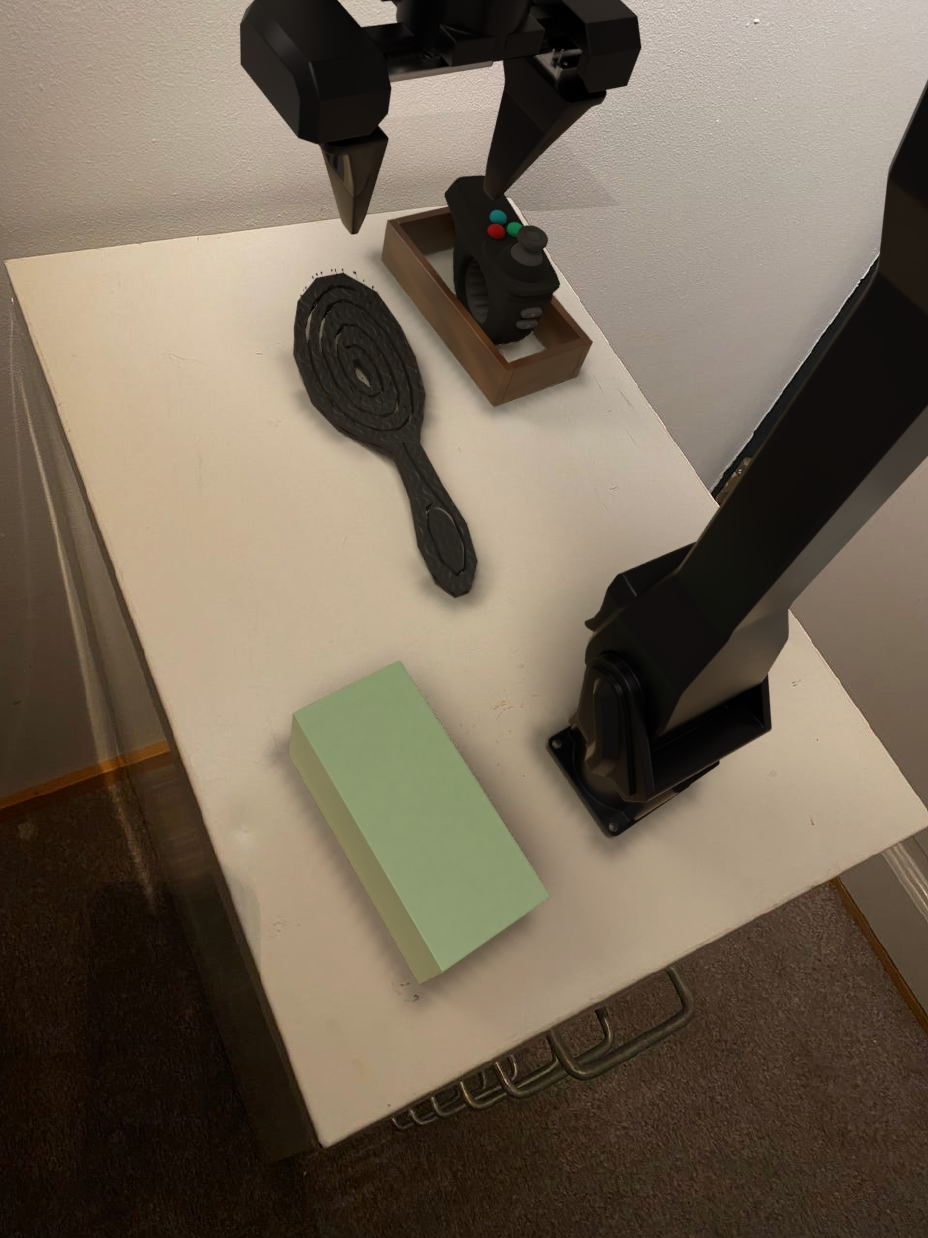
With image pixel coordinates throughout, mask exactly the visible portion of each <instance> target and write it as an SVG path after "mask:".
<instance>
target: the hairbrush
mask: <svg viewBox="0 0 928 1238" xmlns="http://www.w3.org/2000/svg"><path fill="white" fill-rule="evenodd" d="M333 271H334V272H335V273H334V274H333ZM330 272H331V273H332V274H328V275H324V276H323V271H320V274H321V275H322V276H318V275H319V273H318V272H316V273H315V275H316V277H315V278H314V275H311V279H313V281H312V282H311V283H310V285H309V286H308V287H307V286H304V289H302V292H303V294H300V295H299V299H298V300H297V302H296V303H297V304H296V308H295V309H296V310H295V315H294V321H293V322H294V323H293V351H292V353H293V354H292V355H293V358H294V361H295V363H296V366H297V369H298V372H299V375H300V377H301V379H302V382H303V385H304V388H305V390H306V392H307V395H308V397H309V400H310V403H311V405H312V406H314V408H315V409H316V410H317V411H318V412H319V413H320V414H321V415H322V416H323V417H324V418H325V419H326V420H327V421H328V422H329V423H330V424H331V425H332V426H333V427H334V428H335V429H336V430H337V431H339V432H341V433H343V434H345V435H347V436H349V437H350V438H352V439H355V440H356V441H358V442H360V443H362V444H364V445H367V446H368V447H370V448H371V449H375V450H376V451H378V452H381V453H383V454H384V455H387V456H388V457H390V458H392V459H393V461H394V463H395V466H396V468H397V472H398V473H399V476H400V479H401V481H402V484H403V487H404V489H405V492H406V495H407V497H408V500H409V505H410V510H411V511H410V512H411V516H412V522H413V528H414V534H415V540H416V544H417V549H418V550H419V552H420V554H421V557H422V559H423V561H424V563H425V565H426V567H427V569H428V571H429V573H430V575H431V577H432V579H433V581H434V583H435V584H436V585H437V586H439V587H440V588H441V589H442V590H443V591H444V592H446V593H447V594H449V595H450V596H452V597H453V598H454V599H455V598H458V597H461V596H464V595H466V594H469V592H470V590H472V588H473V583H474V581H475V577H476V576H475V574H476V570H477V566H478V557H477V554H476V550H475V547H474V543H473V540H472V535H471V533H470V529H469V525H468V522H467V521H466V519H465V517H464V515H462V513H461V511H460V510H459V508H458V507H457V505H456V504H455V502H454V500H453V498H452V497H451V495H450V494H449V493H448V491H447V490H446V489H447V488H446V487H445V485H444V484H443V483H442V480H441V479H440V477H439V475H438V473H437V471H436V469H435V467H434V466H433V463H432V461H431V460H430V458H429V456H428V454H427V453H426V451H425V449H424V447H423V445H422V443H421V441H422V440H421V439H422V438H421V437H422V436H421V435H422V425H423V422H424V411H425V402H426V395H427V393H426V391H425V387H424V382H423V379H422V376H421V371H420V368H419V364H418V360H417V356H416V355H415V352H414V350H413V348H412V346H411V344H410V342H409V339H408V338H407V336H406V334H405V332H404V330H403V328H402V326H401V324H400V323H399V321H398V320H397V318H396V317H395V315H394V314H393V312H392V311H391V310H390V308H389V306H388V305H387V304H386V302H385V301H384V299H383V298H382V296H381V295H380V293H379V292H378V291H377V290H375V289H374V287H375V286H374V285H372V286H371V287H370V286H368V285H366V284H365V283H366V282H365V279H364V278H363V279H362V282H363V283H362V282H361V281H359V280H358V279H357V278H355V277H358V276H357V271H355V270H353V271H352V272H353V275H354V276H355V277H352V276H350V275H348V274H347V273H345V272H344V268H343V267H342V268H341V272H339V273H337V269H336V268H334V270H333V268H330ZM309 318H310V321H309ZM308 321H309V322H308ZM322 322H323V325H322ZM308 323H309V327H308ZM307 328H309V329H308V336H307ZM321 328H322V331H321ZM320 333H321V337H320ZM336 338H337V340H336ZM356 368H359V370H360V371H361V373H362V374H363V376H362V377H361V379H360V378H358V376H357V373H356V372H357V370H356ZM364 377H365V378H366V380H367V382H368V384H366V383H365V381H363V380H364ZM396 408H398V409H397V410H396ZM410 417H411V418H410ZM409 419H410V420H409Z"/></svg>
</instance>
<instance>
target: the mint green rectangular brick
mask: <svg viewBox="0 0 928 1238" xmlns="http://www.w3.org/2000/svg"><path fill="white" fill-rule="evenodd" d="M291 716H292V717H291V726H290V727H291V728H290V736H289V737H290V738H289V748H288V756H289V757H290V759H291V761H292V763H293V765H294V766H295V768H296V770H297V772H298V773H299V775H300V777H301V779H302V780H303V781H304V782H303V783H304V784H305V786H306V788H307V789H308V791H309V793H310V795H311V797H312V798H313V800H314V801H315V803H316V805H317V807H318V808H319V811H320V812H321V814H322V815H323V817H324V819H325V821H326V823H327V824H328V827H329V828H330V829H331V832H332V833H333V835H334V837H335V839H336V841H337V842H338V844H339V846H340V847H341V849H342V851H343V852H344V854H345V856H346V858H347V859H348V861H349V863H350V865H351V867H352V868H353V870H354V872H355V874H356V875H357V877H358V879H359V881H360V882H361V884H362V886H363V888H364V889H365V891H366V893H367V895H368V897H369V899H370V900H371V902H372V904H373V905H374V908H375V909H376V911H377V912H378V914H379V915H380V918H381V920H382V922H383V923H384V925H385V927H386V929H387V930H388V932H389V934H390V936H391V937H392V939H393V940H394V943H395V944H396V946H397V948H398V950H399V951H400V953H401V955H402V956H403V959H404V960H405V962H406V964H407V965H408V967H409V969H410V971H411V972H412V974H413V977H414V978H415V980H416V981H417V983H418V984H419V985H420V984H423V983H424V982H425V983H426V982H427V981H429V980H431V979H432V978H434V977H436V976H438V975H441V974H442V973H444V972H446V971H447V970H449V969H450V968H451V967H453V966H455V965H456V964H457V963H458V962H460V961H462V960H463V959H464V958H466V957H467V956H469V955H471V954H472V953H473V952H474V951H476V950H477V949H479V948H480V947H481V946H484V944H486V943H488V942H489V941H490V940H492V939H493V938H494V937H496V936H497V935H499V934H500V933H501V932H503V931H504V930H506V929H507V928H509V927H510V926H512V925H513V924H515V923H516V922H517V921H518V920H520V919H522V918H523V917H524V916H526V915H528V913H530V912H531V911H533V910H534V909H536V908H537V907H539V906H540V905H542V904H543V903H544V902H546V901H547V900H549V899H550V898H551V896H552V895H551V893H550V892H549V891H548V889H547V887H546V886H545V884H544V882H542V880H541V878H540V877H539V875H538V874H537V872H536V870H535V869H534V867H533V866H532V864H531V862H530V861H529V859H528V858H527V856H526V855H525V853H524V851H522V849H521V847H520V845H519V844H518V841H516V839H515V838H514V836H513V835H512V834H513V833H511V832H510V830H509V829H508V827H507V825H506V824H505V822H504V820H503V819H502V817H501V815H500V814H499V813H498V811H497V810H496V808H495V806H494V805H493V803H492V801H491V800H490V799H489V797H488V795H487V794H486V792H485V791H484V789H483V788H482V786H481V784H480V783H479V781H478V780H477V778H476V777H475V775H474V773H473V772H472V770H471V769H470V767H469V766H468V764H467V762H466V761H465V759H464V758H463V756H462V755H461V753H460V751H459V749H458V748H457V747H456V745H455V744H454V742H453V741H452V739H451V738H450V736H449V734H448V733H447V731H446V730H445V728H444V727H443V725H442V724H441V722H440V720H439V719H438V717H437V716H436V713H434V711H433V709H432V708H431V706H430V705H429V703H428V701H427V700H426V698H425V696H424V695H423V693H422V692H421V691H420V689H419V687H418V686H417V684H416V683H415V681H414V680H413V678H412V677H411V675H410V673H409V672H408V670H407V668H406V667H405V666H404V664H403V662H402V661H401V660H400V659H399V660H397V661H395V662H393V663H390V664H388V665H387V666H385V667H382V668H380V669H379V670H376V671H374V672H373V673H370V674H369V675H366V676H364V677H362V678H360V679H359V680H356V681H354V682H352V683H350V684H348V685H346V686H344V687H342V688H340V689H338V690H336V691H334V692H331V693H330V694H328V695H326V696H324V697H322V698H320V699H318V700H315V701H314V702H312V703H310V704H308V705H306V706H304V707H302V708H300V709H298V710H296V711H294V712H292V715H291Z"/></svg>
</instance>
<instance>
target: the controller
mask: <svg viewBox="0 0 928 1238" xmlns="http://www.w3.org/2000/svg"><path fill="white" fill-rule="evenodd" d="M484 179H485V175H484V174H483V175H482V174H479V175H478V174H477V175H463V176H459V177H458V178H456V179H455V180H454V181H453V182H452V183H451V184H450V185H449V187H448V188H447V190H445V192H444V200H445V202H446V204H447V206H448V207H449V210H450V212H451V215H452V218H453V220H454V224H455V230H456V232H455V243H454V248H452V249H453V250H452V280H453V288H454V294H455V296H456V297H457V298H458V300H459V301H460V302H461V303H462V305H463V306H464V307H465V308H466V310H467V311H468V312H469V313H470V315H471V316H472V317H473V319H474V320H475V321H476V322H477V324H478V325H479V326H480V327H481V329H482V330H483V331H484V332H485V334H486V335H487V336H488V337H489V339H490V340H491V341H492V343H493V344H494V345H495V346H501V345H508V344H515V343H517V342H518V343H519V342H521V341H522V340H524V339H526V338H527V337H528V336H529V335H530V334H531V333H533V332H532V331H533V330H534V328H535V327H536V326H537V324H538V322H539V320H540V319H541V317H542V316H543V314H544V313H545V311H546V309H547V308H548V306H549V305H550V303H551V301H552V298H553V295H554V292H556V291H558V290H559V289H560V287H561V282H560V279H559V277H558V274H557V272H556V270H555V267H554V266H553V264H552V263H551V260H550V259H549V257H548V254H547V252H546V251H545V249H546V247H547V245H548V242H549V237H548V234H547V233H546V231H544V230H543V229H542V228H540V227H539V226H535V225H531V224H530V225H529V224H526V225H524V223H523V221H522V220H521V218H520V216H519V215H518V214H517V211H516V210H515V209H514V207H513V206H512V204H511V202H510V201H509V199H508V197H507V196H506V193H504V194H503V195H502V196H501V197H500V198H499V199H496V200H492V199H491V198H490V197H489V196H488V195H487V193H486V192H485V191H484Z"/></svg>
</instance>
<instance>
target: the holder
mask: <svg viewBox="0 0 928 1238" xmlns="http://www.w3.org/2000/svg"><path fill="white" fill-rule="evenodd" d="M384 231H385V232H384V238H383V243H382V252H381V255H380V256H381V257H380V260H381V262H382V263H383V264H384V265H385V267H386V268H387V269H388V271H389V272H390V274H391V275H392V276H393V278H394V279H395V280H396V281H397V283H398V285H400V287H401V288H402V289H403V290H404V292H405V293H406V294H407V295H408V297H409V298H410V300H411V301H412V303H414V304H415V306H416V307H417V309H418V310H419V311H420V312H421V314H422V315H423V317H424V318H425V319H426V320H427V322H428V323H429V325H430V326H431V327H432V328H433V330H434V331H435V333H436V334H437V335H438V336H439V337H440V339H441V340H442V341H443V343H444V344H445V346H447V348H448V349H449V350H450V352H451V353H452V354H453V356H454V357H455V358H456V360H457V361H458V363H459V364H460V365H461V366H462V367H463V369H464V370H465V371H466V373H467V374H468V375H469V376H470V378H471V379H472V381H473V382H474V383H475V384H476V386H477V387H478V388H479V390H480V391H481V392H482V394H483V395H484V396H485V398H486V399H487V401H489V403H490V404H491V405H492V406H493V407H497V406H500V405H504V404H506V403H509V402H511V401H514V400H517V399H519V398H522V397H526V396H527V395H531V394H533V393H536V392H538V391H541V390H544V389H547V388H550V387H552V386H555V385H557V384H560V383H563V382H566V381H568V380H572V379H574V378H577V377H578V376H579V373H580V371H581V369H582V367H583V365H584V362H585V360H586V358H587V356H588V354H589V352H590V349H591V347H592V345H593V343H594V342H593V340H592V339H591V338H590V336H588V334H587V333H586V331H584V330H583V328H582V327H581V326H580V324H579V323H578V322H577V321H576V320H575V319H574V317H573V316H572V315H571V314H570V313H569V311H567V309H566V308H565V306H564V305H563V304H562V303H561V302H560V301H559V299H558V298H557V297H556V296H555V295H554V294H553V298H552V301H551V303H550V305H549V306H548V308H547V309H546V311H545V313H544V314H543V316H542V317H541V319H540V320H539V322H538V324H537V326H536V327H535V328H534V330H533V331H532V332H531V333H532V334H533V335H534V336H535V338H536V339H537V340H538V341H539V342H540V344H541V345H542V346H543V347H544V350H542V351H538V352H535V353H532V354H529V355H527V356H523V357H519V358H518V359H515V360H512V361H508V360H507V359H506V358H505V356H504V355H503V354H502V352H501V351H500V350H499V349H498V347H497V345H494V344H493V343H492V341H491V340H490V339H489V337H488V336H487V335H486V334H485V332H484V331H483V330H482V329H481V327H480V326H479V325H478V324H477V322H476V321H475V320H474V319H473V317H472V316H471V315H470V313H469V312H468V311H467V310H466V308H465V307H464V306H463V305H462V303H461V302H460V301H459V300H458V298H457V297H456V294H455V292H453V290H452V289H451V288H450V287H449V286H448V284H447V283H446V282H445V280H444V279H443V278H442V276H441V275H440V274H439V273H438V272H437V270H436V269H435V268H434V267H433V265H432V264H431V263H430V262H429V261H428V259H427V257H426V255H427V256H428V255H430V254H434V253H438V252H442V251H447V250H450V249H454V243H455V232H456V230H455V224H454V220H453V218H452V215H451V212H450V210H449V207H448V205H446V206H443V207H438V208H434V209H430V210H429V209H428V210H425V211H421V212H415V213H412V214H407V215H403V216H399V217H395V218H391V219H390V218H389V219H387V220H386V225H385V229H384Z"/></svg>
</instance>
